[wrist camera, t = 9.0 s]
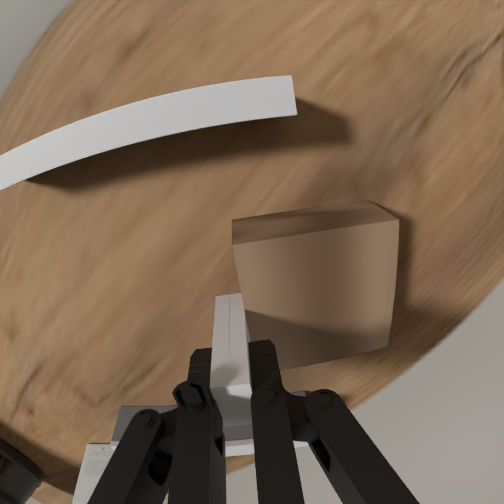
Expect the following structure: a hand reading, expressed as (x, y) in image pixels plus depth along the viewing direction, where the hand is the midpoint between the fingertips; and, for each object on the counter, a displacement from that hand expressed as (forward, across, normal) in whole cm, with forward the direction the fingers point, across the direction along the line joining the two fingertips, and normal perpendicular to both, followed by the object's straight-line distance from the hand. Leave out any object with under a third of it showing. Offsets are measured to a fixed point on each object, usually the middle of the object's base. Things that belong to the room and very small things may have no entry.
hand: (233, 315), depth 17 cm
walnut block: (+2, +5, +1) cm, 5 cm away
